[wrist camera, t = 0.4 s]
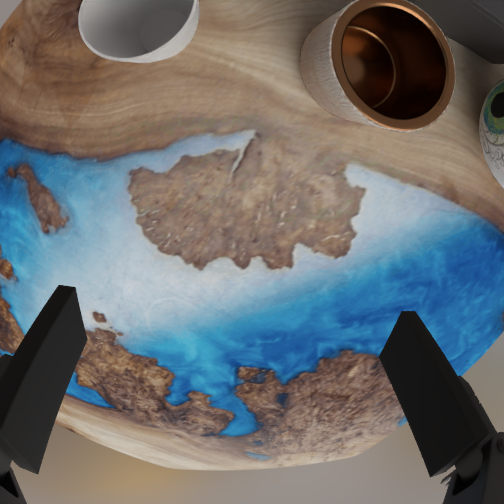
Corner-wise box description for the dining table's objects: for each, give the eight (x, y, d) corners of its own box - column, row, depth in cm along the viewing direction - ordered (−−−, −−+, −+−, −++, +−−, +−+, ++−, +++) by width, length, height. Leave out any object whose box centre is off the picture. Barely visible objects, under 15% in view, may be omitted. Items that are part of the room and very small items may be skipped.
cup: (202, -12, 21) (191, -56, 12) (213, 62, 25) (205, 44, 16) (119, 8, 21) (76, -21, 12) (129, 80, 25) (84, 76, 16)
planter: (402, 121, 28) (458, 136, 19) (303, 122, 28) (334, 134, 19) (395, 24, 23) (449, 8, 14) (292, 16, 23) (318, -16, 14)
